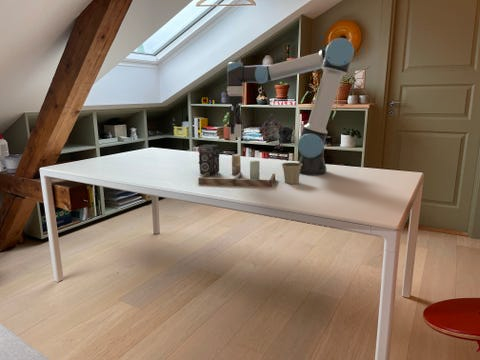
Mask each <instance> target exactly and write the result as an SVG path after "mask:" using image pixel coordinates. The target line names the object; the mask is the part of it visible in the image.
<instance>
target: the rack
mask: <svg viewBox="0 0 480 360" xmlns="http://www.w3.org/2000/svg"><path fill="white" fill-rule="evenodd" d="M197 181H198V185H209V186H230V187H231V186H233V187H236V186H237V187H256V188H257V187H258V188H273V186H274V184H275V181H276V173H272V175H271V177H269V179H259V180H258V179H250V178H243V173H242V172H241V173H238V175H235V177H234V178H229V177H228V178H225V177H223V178H222V177H210V175H209V172H206V173H204V174H203V175H202V174H201V175H200V176H199V177H198V179H197Z"/></svg>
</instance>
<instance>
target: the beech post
mask: <svg viewBox="0 0 480 360" xmlns="http://www.w3.org/2000/svg"><path fill="white" fill-rule="evenodd" d="M238 173H242V172H241V154H237V153H236V154H231V175H232V176H237V175H238Z"/></svg>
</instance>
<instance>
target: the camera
mask: <svg viewBox="0 0 480 360" xmlns="http://www.w3.org/2000/svg"><path fill="white" fill-rule="evenodd" d="M219 147H220V146H219V144H202V145H199V146H198V148H197V150H198V160H199V161H198V164H199V174H200V175H201V176H202V175H203V174H204V173H206V172H209V176H210V175H212V176H215V175H216V174H218V173H219V172H220V155H221V154H220V150H219Z"/></svg>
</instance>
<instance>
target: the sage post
mask: <svg viewBox="0 0 480 360" xmlns="http://www.w3.org/2000/svg"><path fill="white" fill-rule="evenodd" d="M260 166H261V165H260V161H259V160H250V161H249V179H258V180H260V169H261V168H260Z"/></svg>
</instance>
